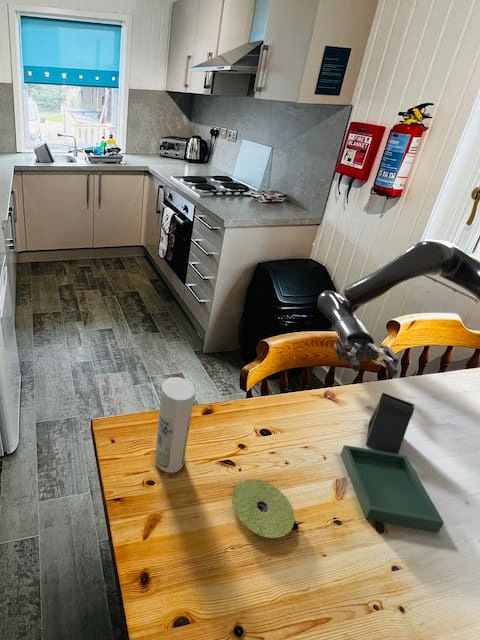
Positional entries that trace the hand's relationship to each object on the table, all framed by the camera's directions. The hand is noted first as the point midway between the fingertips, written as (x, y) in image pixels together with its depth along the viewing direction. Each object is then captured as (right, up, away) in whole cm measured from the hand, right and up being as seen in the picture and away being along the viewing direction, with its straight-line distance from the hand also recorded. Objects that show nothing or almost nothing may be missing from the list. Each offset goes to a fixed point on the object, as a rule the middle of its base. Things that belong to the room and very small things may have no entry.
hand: (376, 371), depth 98 cm
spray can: (-53, -15, -13) cm, 57 cm away
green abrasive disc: (-37, -21, -23) cm, 48 cm away
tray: (-10, -19, -17) cm, 28 cm away
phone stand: (-2, -14, -5) cm, 15 cm away
